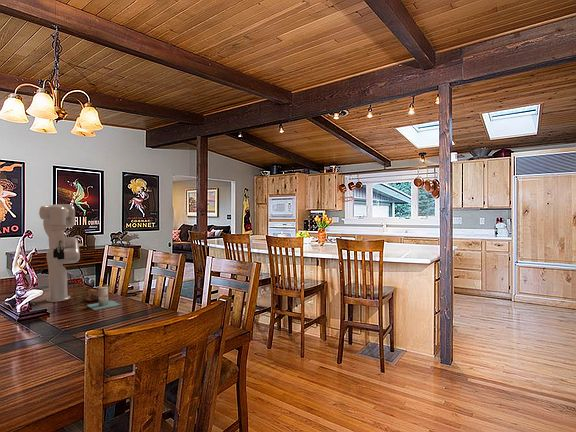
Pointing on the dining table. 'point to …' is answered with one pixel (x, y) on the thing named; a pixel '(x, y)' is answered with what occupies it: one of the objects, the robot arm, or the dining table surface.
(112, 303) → the card
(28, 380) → the dining table surface
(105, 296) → the tube
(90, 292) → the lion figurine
